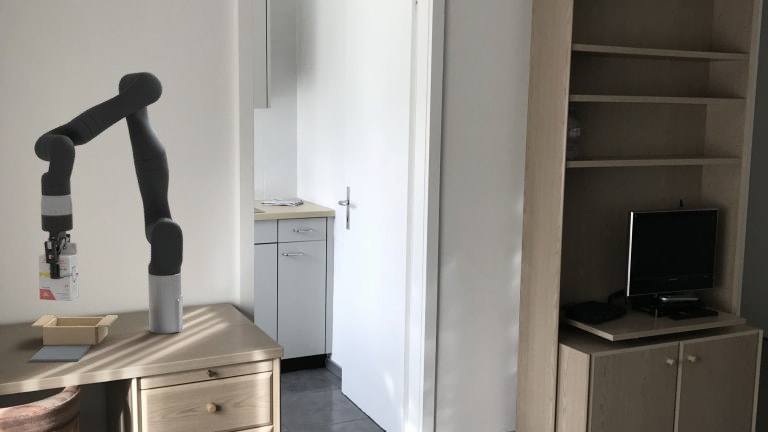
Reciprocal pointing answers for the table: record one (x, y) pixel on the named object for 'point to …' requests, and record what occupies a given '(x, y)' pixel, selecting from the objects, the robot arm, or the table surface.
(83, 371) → the table surface
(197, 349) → the table surface
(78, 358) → the mat
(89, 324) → the carton
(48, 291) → the ink cartridge box
